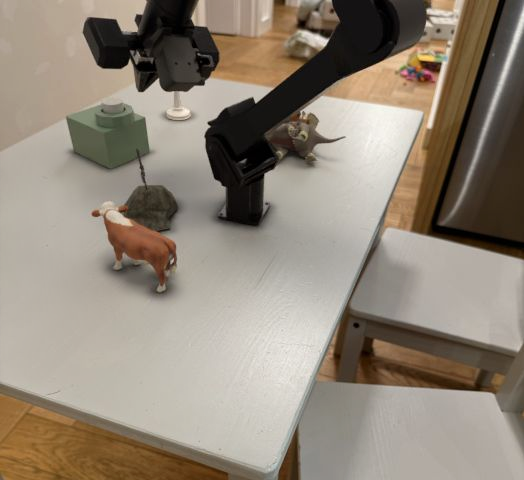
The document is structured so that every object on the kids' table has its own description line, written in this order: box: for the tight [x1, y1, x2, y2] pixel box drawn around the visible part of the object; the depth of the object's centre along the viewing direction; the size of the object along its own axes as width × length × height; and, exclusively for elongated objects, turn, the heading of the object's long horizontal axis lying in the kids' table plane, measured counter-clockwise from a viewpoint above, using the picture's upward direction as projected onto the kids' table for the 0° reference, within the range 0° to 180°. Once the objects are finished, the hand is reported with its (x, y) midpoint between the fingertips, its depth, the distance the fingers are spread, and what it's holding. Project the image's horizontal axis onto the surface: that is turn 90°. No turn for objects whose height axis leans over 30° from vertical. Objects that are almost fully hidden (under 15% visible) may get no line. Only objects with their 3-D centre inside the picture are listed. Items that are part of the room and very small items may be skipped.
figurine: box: [269, 110, 347, 164], centre depth 92 cm, size 20×6×17 cm
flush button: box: [101, 96, 124, 114], centre depth 82 cm, size 3×3×2 cm
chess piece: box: [166, 91, 192, 121], centre depth 99 cm, size 5×5×10 cm
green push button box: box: [65, 102, 150, 170], centre depth 86 cm, size 11×9×8 cm
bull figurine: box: [91, 201, 178, 293], centre depth 62 cm, size 4×13×8 cm, turn 51°
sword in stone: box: [123, 148, 179, 232], centre depth 71 cm, size 10×8×12 cm
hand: (139, 89), depth 76 cm, fingers closed
